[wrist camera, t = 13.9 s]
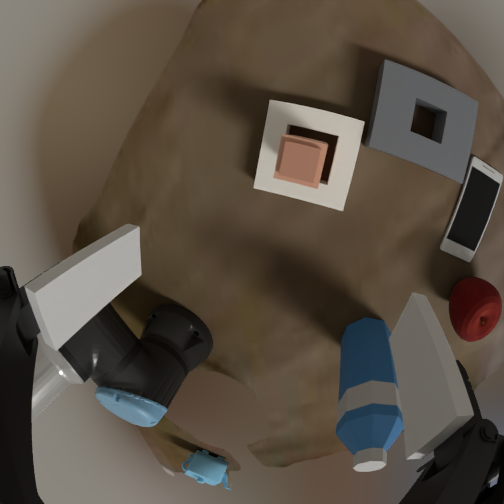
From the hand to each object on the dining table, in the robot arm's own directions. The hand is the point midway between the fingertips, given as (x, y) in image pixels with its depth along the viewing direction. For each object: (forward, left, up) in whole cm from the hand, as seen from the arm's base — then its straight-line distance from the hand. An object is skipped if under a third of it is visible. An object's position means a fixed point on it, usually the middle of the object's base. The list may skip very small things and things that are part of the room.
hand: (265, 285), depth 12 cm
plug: (-1, +4, -28) cm, 28 cm away
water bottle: (+17, -23, -28) cm, 40 cm away
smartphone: (+26, +4, -28) cm, 39 cm away
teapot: (-5, -107, -28) cm, 111 cm away
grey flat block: (+13, +13, -28) cm, 33 cm away
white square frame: (-1, +4, -28) cm, 28 cm away
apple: (+31, -9, -28) cm, 43 cm away
